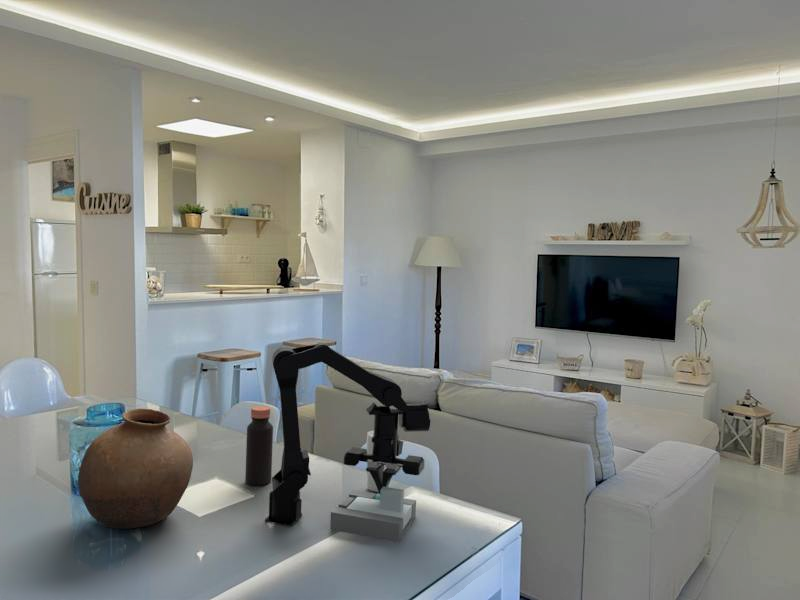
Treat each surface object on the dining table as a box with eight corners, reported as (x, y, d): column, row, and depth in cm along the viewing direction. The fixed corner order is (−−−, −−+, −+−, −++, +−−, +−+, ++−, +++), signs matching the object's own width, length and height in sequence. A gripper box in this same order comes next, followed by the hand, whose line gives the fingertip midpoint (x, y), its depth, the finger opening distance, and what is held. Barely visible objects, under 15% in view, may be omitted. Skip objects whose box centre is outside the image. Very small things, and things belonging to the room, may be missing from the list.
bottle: (256, 488, 154) (258, 412, 152) (239, 481, 158) (242, 407, 157) (276, 481, 159) (279, 408, 158) (260, 475, 163) (262, 403, 162)
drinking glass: (386, 495, 153) (389, 438, 153) (361, 491, 155) (364, 435, 154) (392, 485, 160) (394, 431, 159) (368, 482, 161) (370, 428, 161)
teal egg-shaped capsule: (373, 508, 141) (373, 497, 141) (377, 503, 144) (378, 492, 144) (386, 510, 140) (387, 499, 140) (391, 505, 143) (391, 494, 143)
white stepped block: (345, 519, 134) (347, 488, 134) (357, 507, 142) (358, 478, 141) (402, 530, 131) (404, 498, 130) (411, 516, 138) (413, 486, 137)
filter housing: (330, 529, 132) (330, 512, 132) (352, 505, 146) (353, 490, 145) (398, 542, 128) (399, 524, 127) (415, 516, 141) (416, 500, 141)
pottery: (82, 508, 137) (84, 402, 136) (188, 497, 146) (190, 397, 145) (71, 554, 116) (73, 429, 115) (195, 537, 125) (198, 421, 124)
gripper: (431, 428, 146) (428, 490, 147) (360, 419, 151) (357, 478, 152) (420, 440, 135) (416, 506, 136) (344, 430, 141) (341, 494, 142)
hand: (382, 495), depth 142 cm, fingers closed, pressing on teal egg-shaped capsule
